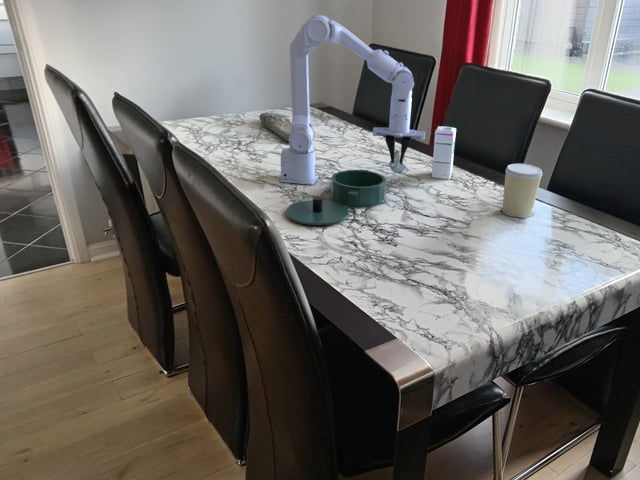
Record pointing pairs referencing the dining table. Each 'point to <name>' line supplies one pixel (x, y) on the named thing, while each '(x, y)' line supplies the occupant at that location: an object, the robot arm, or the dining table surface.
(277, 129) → the elongated rock
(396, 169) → the pacifier
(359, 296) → the dining table surface
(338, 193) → the pot
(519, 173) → the coffee cup
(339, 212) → the lid
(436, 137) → the syrup box
